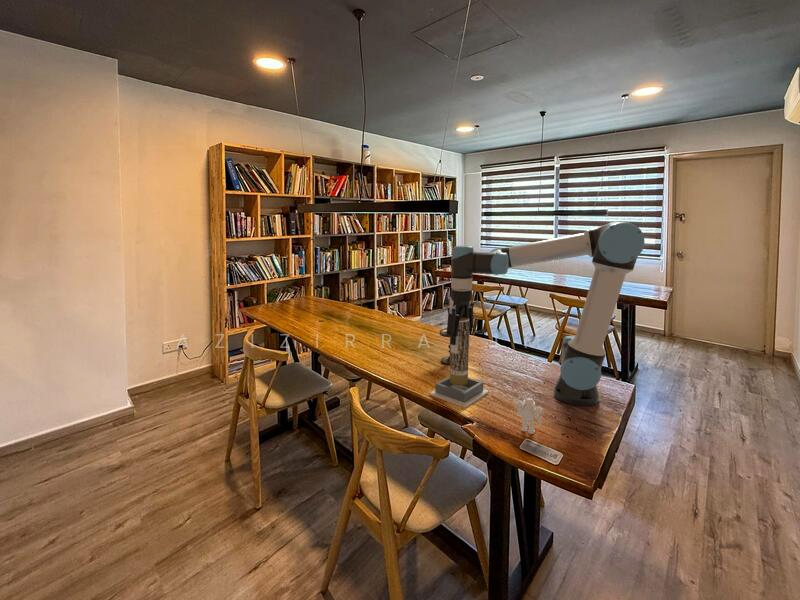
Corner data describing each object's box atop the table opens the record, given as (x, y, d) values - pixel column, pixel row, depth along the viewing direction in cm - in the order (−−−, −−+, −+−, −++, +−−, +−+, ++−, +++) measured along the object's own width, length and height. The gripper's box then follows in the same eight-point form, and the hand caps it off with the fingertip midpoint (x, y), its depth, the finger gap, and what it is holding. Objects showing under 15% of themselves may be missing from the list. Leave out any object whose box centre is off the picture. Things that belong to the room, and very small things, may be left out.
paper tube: (455, 377, 154) (456, 315, 149) (471, 381, 150) (472, 317, 145) (446, 383, 149) (446, 319, 144) (462, 387, 144) (463, 321, 139)
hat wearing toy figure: (511, 428, 125) (513, 393, 123) (517, 423, 128) (519, 389, 126) (539, 438, 119) (542, 402, 117) (544, 433, 122) (547, 397, 120)
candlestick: (442, 356, 190) (443, 285, 183) (464, 359, 186) (466, 286, 179) (436, 364, 180) (437, 289, 173) (460, 367, 176) (461, 290, 169)
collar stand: (488, 393, 150) (489, 382, 149) (465, 408, 139) (465, 396, 138) (453, 381, 161) (454, 371, 160) (429, 394, 149) (429, 383, 148)
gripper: (467, 284, 151) (466, 341, 156) (436, 291, 137) (435, 354, 142) (484, 286, 146) (482, 345, 151) (454, 294, 132) (453, 359, 137)
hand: (460, 350), depth 146 cm, fingers closed on paper tube, 7 cm apart
